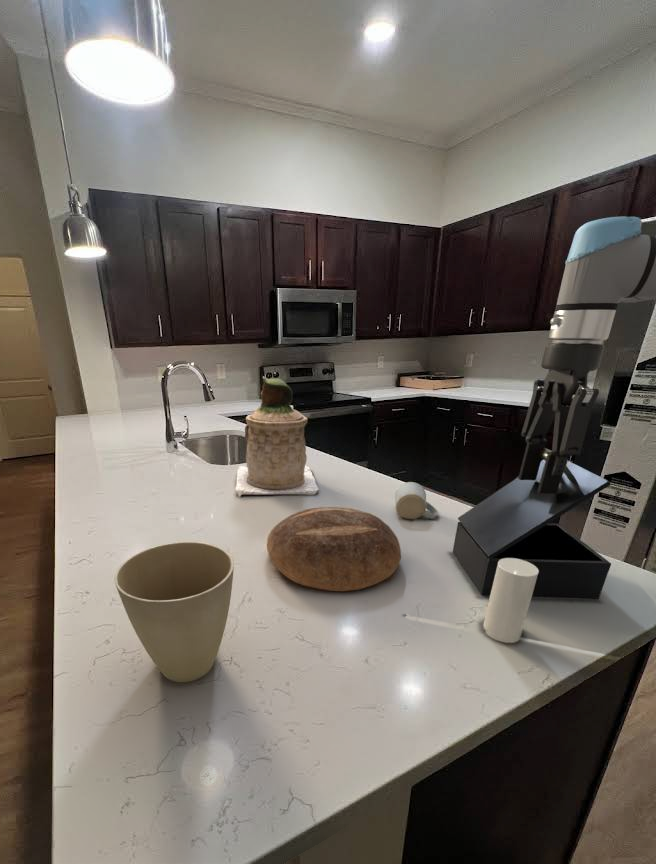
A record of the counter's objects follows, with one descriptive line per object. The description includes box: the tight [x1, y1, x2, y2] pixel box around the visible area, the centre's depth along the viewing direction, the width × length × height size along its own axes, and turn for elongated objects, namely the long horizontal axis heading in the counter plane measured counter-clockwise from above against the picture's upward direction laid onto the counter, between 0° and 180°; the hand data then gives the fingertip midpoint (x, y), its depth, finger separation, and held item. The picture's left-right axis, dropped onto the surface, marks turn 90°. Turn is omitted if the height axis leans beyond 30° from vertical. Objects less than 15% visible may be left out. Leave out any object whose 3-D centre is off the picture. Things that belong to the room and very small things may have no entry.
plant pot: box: [114, 541, 235, 683], centre depth 57 cm, size 15×15×16 cm
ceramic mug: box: [394, 481, 439, 520], centre depth 105 cm, size 11×8×8 cm
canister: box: [482, 558, 539, 644], centre depth 63 cm, size 5×5×12 cm
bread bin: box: [452, 521, 612, 600], centre depth 78 cm, size 20×16×8 cm
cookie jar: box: [234, 376, 319, 498], centre depth 124 cm, size 25×25×32 cm
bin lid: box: [457, 447, 611, 559], centre depth 73 cm, size 20×16×6 cm
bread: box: [266, 506, 402, 592], centre depth 85 cm, size 26×27×10 cm
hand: (536, 485), depth 73 cm, fingers closed on bin lid, 6 cm apart
